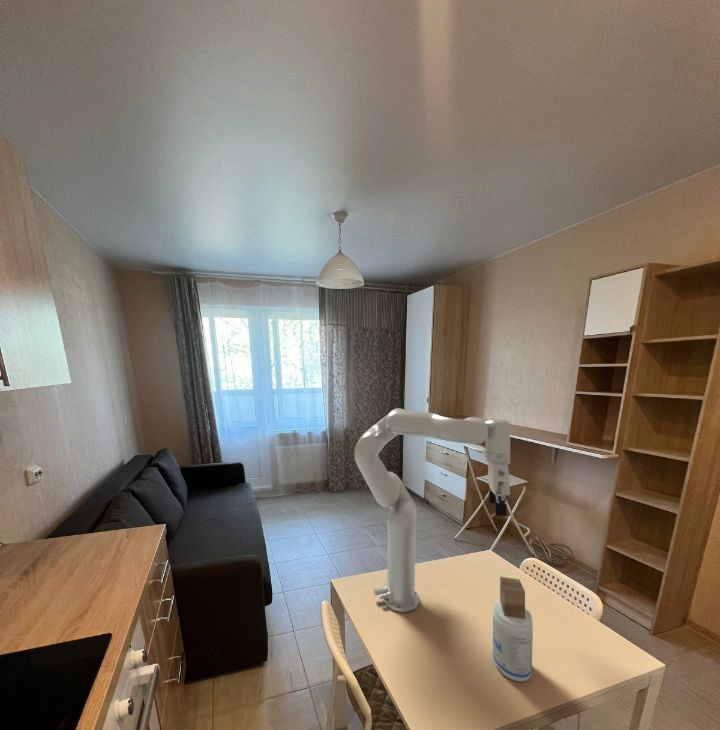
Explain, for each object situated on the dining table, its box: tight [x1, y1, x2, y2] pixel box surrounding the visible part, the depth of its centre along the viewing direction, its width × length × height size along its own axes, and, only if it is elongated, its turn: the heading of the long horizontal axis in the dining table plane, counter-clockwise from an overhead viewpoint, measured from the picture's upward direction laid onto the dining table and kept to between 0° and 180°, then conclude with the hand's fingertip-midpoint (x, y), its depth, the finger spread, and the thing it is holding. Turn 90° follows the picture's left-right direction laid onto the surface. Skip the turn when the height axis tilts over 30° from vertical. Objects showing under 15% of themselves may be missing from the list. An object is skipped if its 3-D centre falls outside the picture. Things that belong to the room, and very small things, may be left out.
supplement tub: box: [492, 599, 534, 683], centre depth 82 cm, size 10×10×15 cm
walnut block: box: [499, 576, 526, 619], centre depth 83 cm, size 5×5×7 cm
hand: (497, 509), depth 101 cm, fingers open, 9 cm apart
